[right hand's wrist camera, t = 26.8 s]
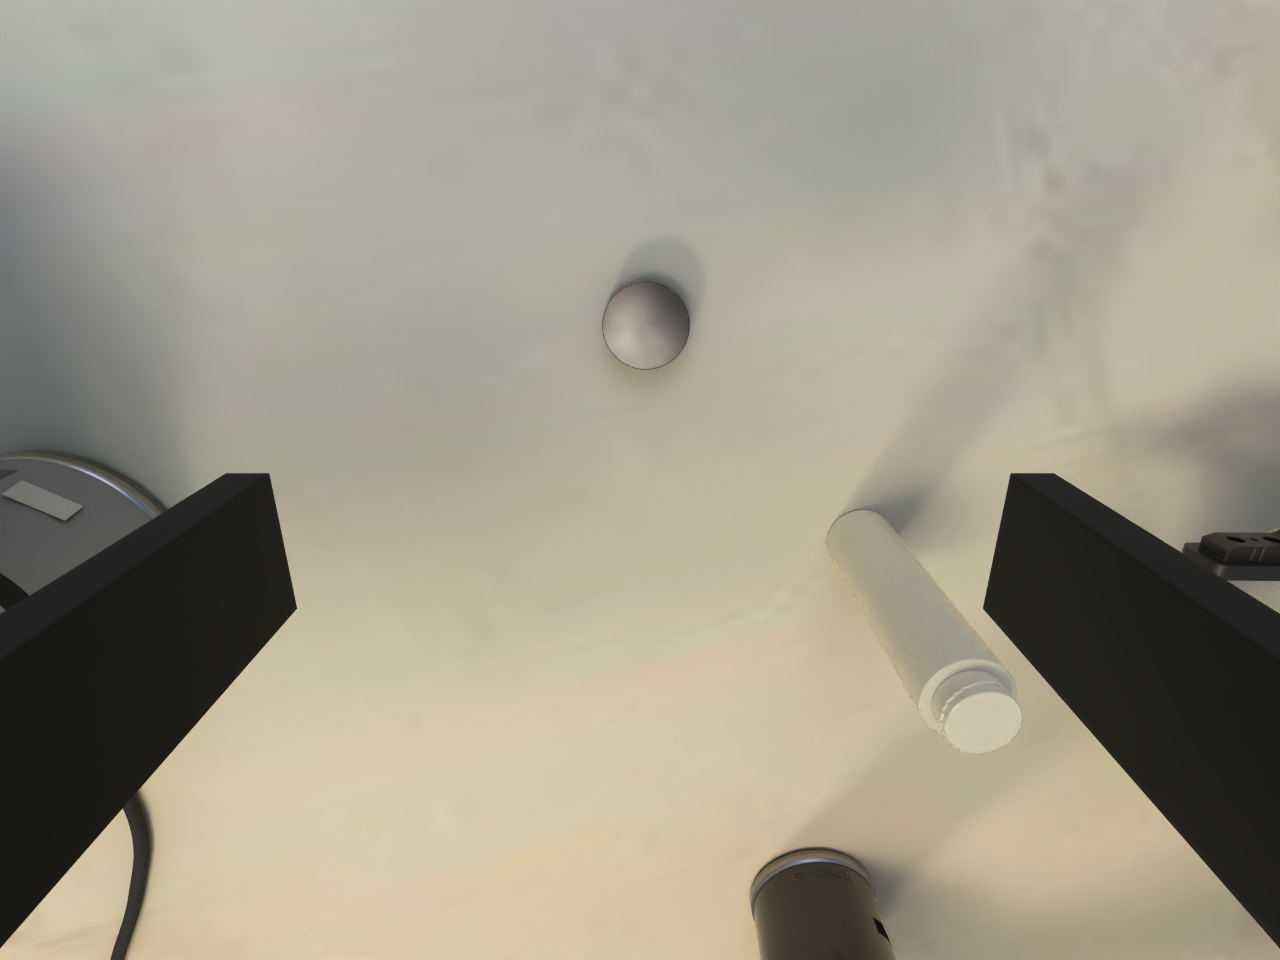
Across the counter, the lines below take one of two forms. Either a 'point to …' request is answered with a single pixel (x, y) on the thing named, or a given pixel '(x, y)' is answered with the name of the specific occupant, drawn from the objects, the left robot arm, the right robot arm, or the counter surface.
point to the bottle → (926, 637)
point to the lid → (645, 324)
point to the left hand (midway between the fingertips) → (1167, 643)
